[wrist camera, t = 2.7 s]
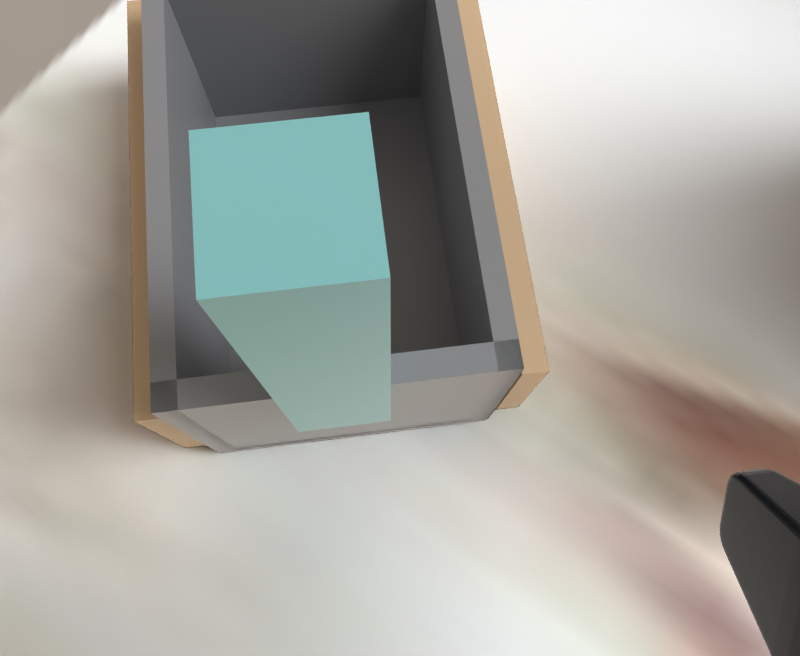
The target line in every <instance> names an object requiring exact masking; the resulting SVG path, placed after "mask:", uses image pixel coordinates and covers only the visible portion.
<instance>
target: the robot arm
mask: <svg viewBox="0 0 800 656" xmlns="http://www.w3.org/2000/svg"><path fill="white" fill-rule="evenodd" d="M720 537H721V542H722V545H723V548H724V551H725V553H726V555H727V557H728V560H729V562H730V564H731V566H732V569H733V571H734V573H735V575H736V578H737V580H738V582H739V584H740V587H741V589H742V591H743V593H744V596H745V598H746V600H747V602H748V605H749V607H750V609H751V611H752V613H753V616H754V618H755V620H756V622H757V625H758V627H759V629H760V631H761V634H762V636H763V638H764V640H765V643H766V645H767V647H768V649H769V652H770V654H771V656H800V484H799V483H797V482H795V481H793V480H791V479H789V478H787V477H785V476H783V475H781V474H780V473H778V472H775V471H773V470H770V469H756V470H748V471H741V472H736V473H734V474H732V475H731V477H730V478H729V480H728V483H727V488H726V494H725V500H724V505H723V511H722V517H721V522H720Z"/></svg>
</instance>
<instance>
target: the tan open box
mask: <svg viewBox="0 0 800 656" xmlns="http://www.w3.org/2000/svg"><path fill="white" fill-rule="evenodd" d="M457 3H458V8H459V14H460V19H461V24H462V30H463V35H464V41H465V46H466V52H467V57H468V63H469V68H470V74H471V79H472V85H473V90H474V96H475V101H476V107H477V112H478V118H479V123H480V129H481V134H482V139H483V145H484V150H485V156H486V161H487V167H488V172H489V178H490V183H491V189H492V194H493V200H494V205H495V211H496V216H497V222H498V227H499V233H500V238H501V243H502V249H503V254H504V260H505V265H506V271H507V276H508V282H509V287H510V293H511V298H512V304H513V309H514V315H515V320H516V326H517V331H518V337H519V342H520V347H521V353H522V358H523V364H524V370H523V371H522V372H521V374H520V375H519V377H518V378H517V379H516V381H515V382H514V383H513V385H512V386H511V388H510V389H509V390H508V392H507V393H506V395H505V396H504V397H503V399H502V400H501V401H500V403H499V404H498V406H497V407H496V408H497V409H504V408H512V407H519V406H520V404H521V403H522V402H523V401H524V400H525V399H526V398H527V396H528V395H529V394H530V393H531V392H532V391H533V389H534V388H535V387H536V386H537V385H538V384H539V383H540V381H541V380H542V379H543V378H544V377H545V376H546V375H547V373H548V372H549V367H548V362H547V357H546V352H545V347H544V341H543V336H542V331H541V326H540V321H539V315H538V310H537V305H536V300H535V295H534V290H533V284H532V279H531V274H530V269H529V264H528V258H527V253H526V248H525V243H524V238H523V233H522V227H521V222H520V217H519V212H518V207H517V202H516V196H515V191H514V186H513V181H512V176H511V170H510V165H509V160H508V155H507V150H506V145H505V139H504V134H503V129H502V124H501V119H500V113H499V108H498V103H497V98H496V93H495V88H494V82H493V77H492V72H491V67H490V62H489V56H488V51H487V46H486V41H485V36H484V31H483V25H482V20H481V15H480V10H479V5H478V0H457ZM127 22H128V85H129V147H130V209H131V271H132V333H133V395H134V422H136V423H138V424H140V425H142V426H143V427H145V428H147V429H149V430H151V431H153V432H155V433H157V434H159V435H161V436H163V437H165V438H167V439H169V440H171V441H173V442H175V443H177V444H179V445H181V446H183V447H185V448H188V447H196V446H204V444H203V443H201V442H199V441H197V440H196V439H194V438H192V437H190V436H189V435H187V434H185V433H184V432H182V431H180V430H178V429H177V428H175V427H173V426H171V425H170V424H168V423H166V422H164V421H163V420H161V419H159V418H158V417H156V416H154V415H152V414H151V403H150V360H149V317H148V274H147V231H146V188H145V145H144V101H143V58H142V15H141V0H135V1H127Z"/></svg>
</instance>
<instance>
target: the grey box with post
mask: <svg viewBox="0 0 800 656" xmlns="http://www.w3.org/2000/svg"><path fill="white" fill-rule="evenodd" d="M141 15H142V58H143V101H144V145H145V188H146V231H147V274H148V317H149V360H150V403H151V414H152V415H154V416H156V417H158V418H159V419H161V420H163V421H164V422H166V423H168V424H170V425H171V426H173V427H175V428H177V429H178V430H180V431H182V432H184V433H185V434H187V435H189V436H190V437H192V438H194V439H196V440H197V441H199V442H201V443H203V444H204V445H206V446H208V447H209V448H211V449H213V450H215V451H216V452H220V453H224V452H232V451H241V450H249V449H257V448H265V447H273V446H281V445H289V444H297V443H305V442H313V441H321V440H329V439H337V438H346V437H354V436H362V435H370V434H378V433H386V432H394V431H402V430H410V429H418V428H426V427H434V426H442V425H450V424H459V423H467V422H475V421H483V420H486V419H488V418H489V417H490V415H491V414H492V413H493V411H494V410H495V408H496V407H497V406H498V404H499V403H500V401H501V400H502V399H503V397H504V396H505V395H506V393H507V392H508V390H509V389H510V388H511V386H512V385H513V383H514V382H515V381H516V379H517V378H518V377H519V375H520V374H521V372H522V371H523V370H524V364H523V358H522V353H521V347H520V342H519V337H518V331H517V326H516V320H515V315H514V309H513V304H512V298H511V293H510V287H509V282H508V276H507V271H506V265H505V260H504V254H503V249H502V243H501V238H500V233H499V227H498V222H497V216H496V211H495V205H494V200H493V194H492V189H491V183H490V178H489V172H488V167H487V161H486V156H485V150H484V145H483V139H482V134H481V129H480V123H479V118H478V112H477V107H476V101H475V96H474V90H473V85H472V79H471V74H470V68H469V63H468V57H467V52H466V46H465V41H464V35H463V30H462V24H461V19H460V14H459V8H458V3H457V0H141Z"/></svg>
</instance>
